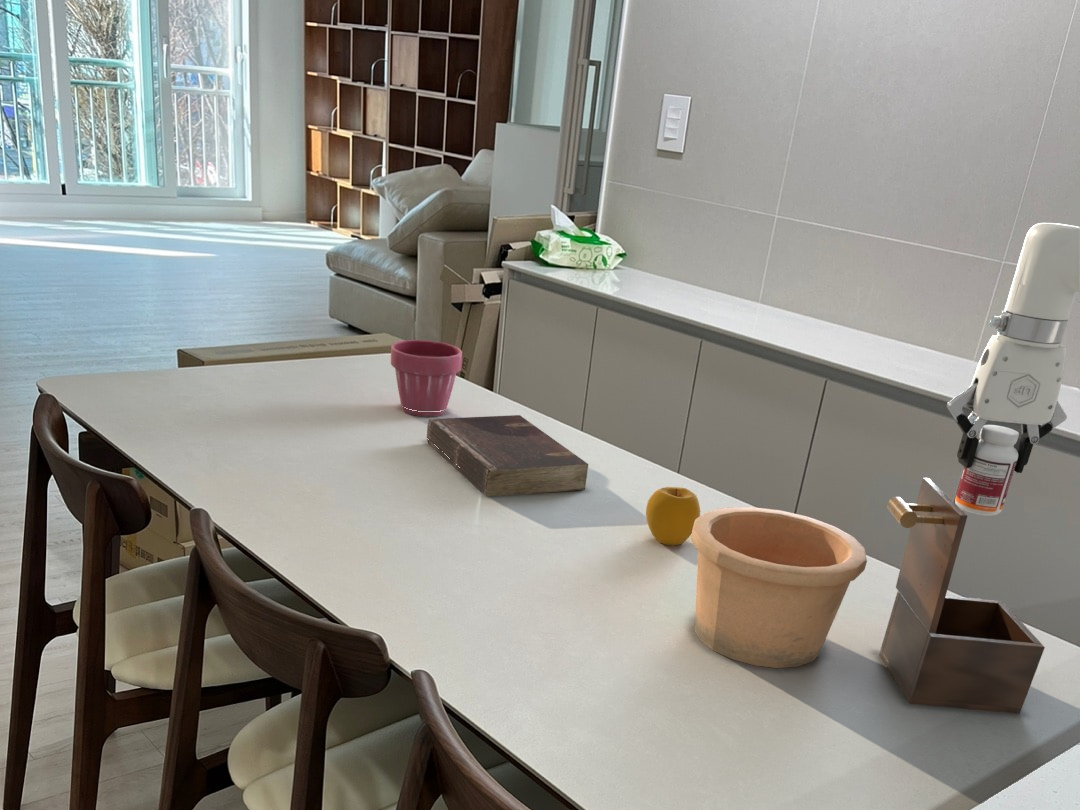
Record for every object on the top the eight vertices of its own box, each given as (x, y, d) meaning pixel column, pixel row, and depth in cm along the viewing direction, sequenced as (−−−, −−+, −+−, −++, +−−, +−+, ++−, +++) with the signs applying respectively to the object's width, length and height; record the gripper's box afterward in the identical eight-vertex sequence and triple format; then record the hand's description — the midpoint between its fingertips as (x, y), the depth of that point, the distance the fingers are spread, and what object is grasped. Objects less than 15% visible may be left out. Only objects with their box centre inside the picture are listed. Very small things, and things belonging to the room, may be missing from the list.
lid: (929, 478, 128) (881, 475, 128) (967, 515, 117) (916, 512, 117) (901, 587, 135) (856, 585, 135) (935, 633, 124) (886, 630, 123)
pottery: (640, 621, 141) (657, 520, 134) (752, 591, 154) (772, 497, 147) (761, 695, 126) (787, 586, 120) (873, 656, 139) (902, 555, 132)
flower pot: (420, 424, 209) (424, 359, 203) (374, 406, 217) (376, 343, 211) (472, 414, 219) (477, 352, 213) (425, 397, 227) (429, 337, 221)
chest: (980, 664, 140) (1002, 600, 136) (1019, 715, 129) (1045, 647, 125) (878, 655, 140) (897, 590, 135) (909, 705, 128) (931, 636, 124)
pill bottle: (971, 498, 148) (994, 421, 143) (1010, 513, 144) (1035, 434, 139) (944, 503, 145) (966, 424, 140) (982, 519, 140) (1007, 438, 135)
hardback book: (426, 443, 199) (427, 417, 197) (517, 440, 207) (519, 415, 204) (485, 497, 176) (487, 468, 174) (584, 491, 184) (588, 464, 182)
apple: (664, 527, 173) (673, 475, 169) (706, 545, 168) (716, 492, 164) (630, 537, 167) (639, 484, 163) (672, 556, 162) (681, 501, 158)
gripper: (974, 328, 129) (935, 470, 138) (1112, 342, 130) (1064, 482, 139) (953, 317, 136) (917, 452, 144) (1084, 330, 137) (1040, 464, 145)
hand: (989, 466), depth 141 cm, fingers closed on pill bottle, 6 cm apart
